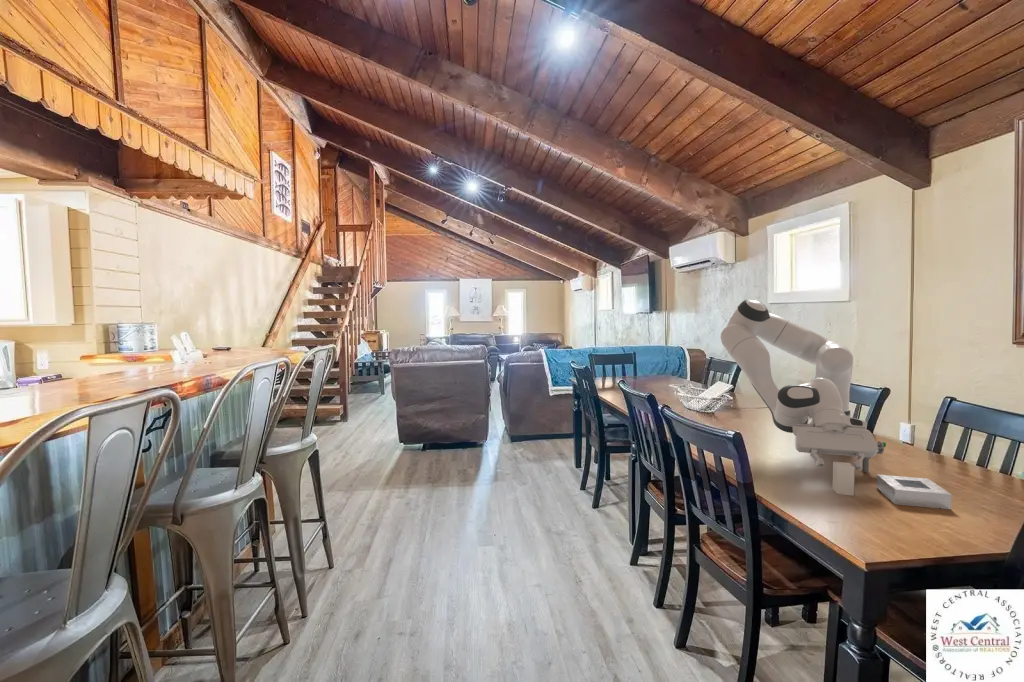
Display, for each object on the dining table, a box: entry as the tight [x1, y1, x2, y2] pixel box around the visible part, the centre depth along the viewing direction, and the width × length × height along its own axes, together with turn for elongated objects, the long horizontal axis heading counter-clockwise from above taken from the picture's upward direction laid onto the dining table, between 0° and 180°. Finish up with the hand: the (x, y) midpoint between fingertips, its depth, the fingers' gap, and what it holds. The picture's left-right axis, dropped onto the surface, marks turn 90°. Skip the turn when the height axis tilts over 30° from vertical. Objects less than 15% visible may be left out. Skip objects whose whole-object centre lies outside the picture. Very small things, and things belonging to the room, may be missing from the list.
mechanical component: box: [861, 440, 887, 473], centre depth 151 cm, size 3×10×10 cm, turn 78°
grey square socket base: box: [876, 474, 953, 510], centre depth 130 cm, size 12×12×4 cm
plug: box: [832, 461, 855, 496], centre depth 135 cm, size 4×4×8 cm
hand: (839, 467), depth 137 cm, fingers open, 8 cm apart
